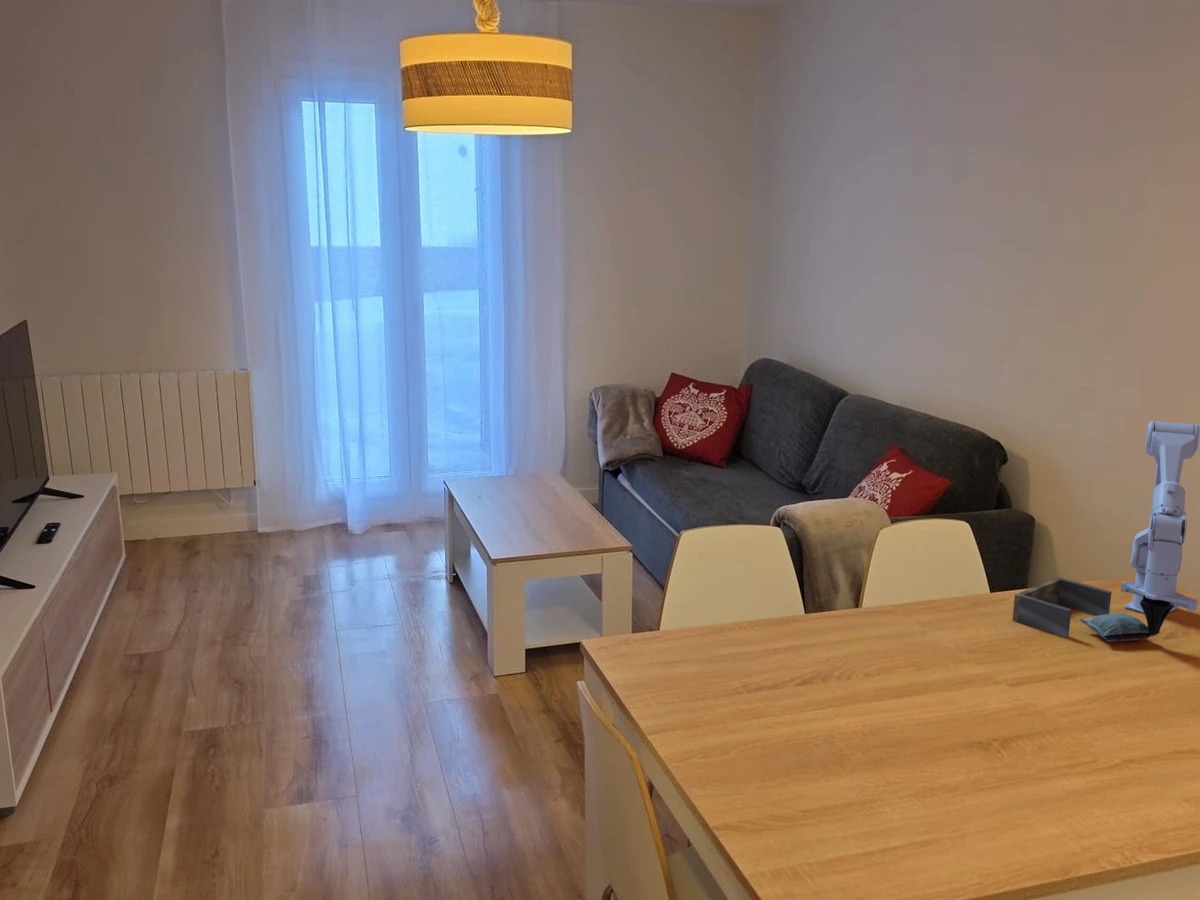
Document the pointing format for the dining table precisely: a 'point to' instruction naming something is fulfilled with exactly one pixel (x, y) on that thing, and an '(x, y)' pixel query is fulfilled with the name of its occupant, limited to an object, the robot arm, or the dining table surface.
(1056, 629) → the grey u-shaped bracket
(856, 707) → the dining table surface
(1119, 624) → the packaged food
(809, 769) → the dining table surface
